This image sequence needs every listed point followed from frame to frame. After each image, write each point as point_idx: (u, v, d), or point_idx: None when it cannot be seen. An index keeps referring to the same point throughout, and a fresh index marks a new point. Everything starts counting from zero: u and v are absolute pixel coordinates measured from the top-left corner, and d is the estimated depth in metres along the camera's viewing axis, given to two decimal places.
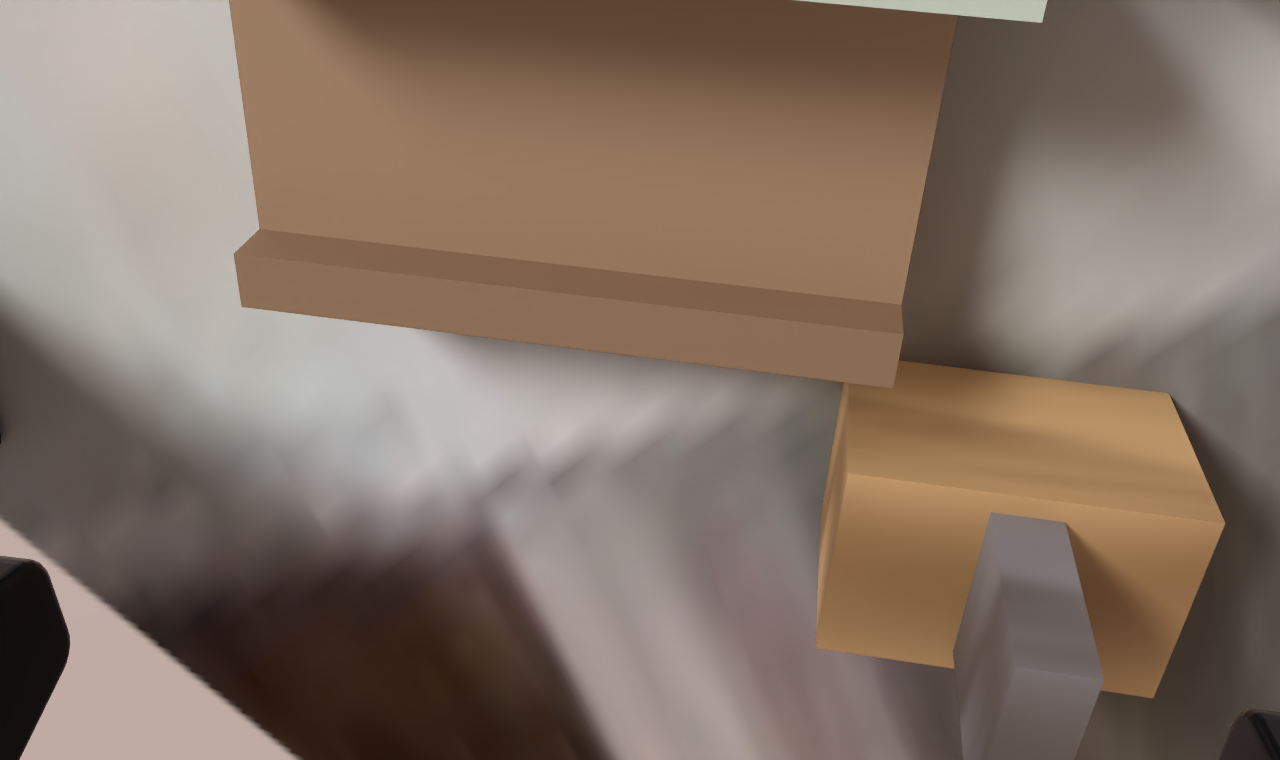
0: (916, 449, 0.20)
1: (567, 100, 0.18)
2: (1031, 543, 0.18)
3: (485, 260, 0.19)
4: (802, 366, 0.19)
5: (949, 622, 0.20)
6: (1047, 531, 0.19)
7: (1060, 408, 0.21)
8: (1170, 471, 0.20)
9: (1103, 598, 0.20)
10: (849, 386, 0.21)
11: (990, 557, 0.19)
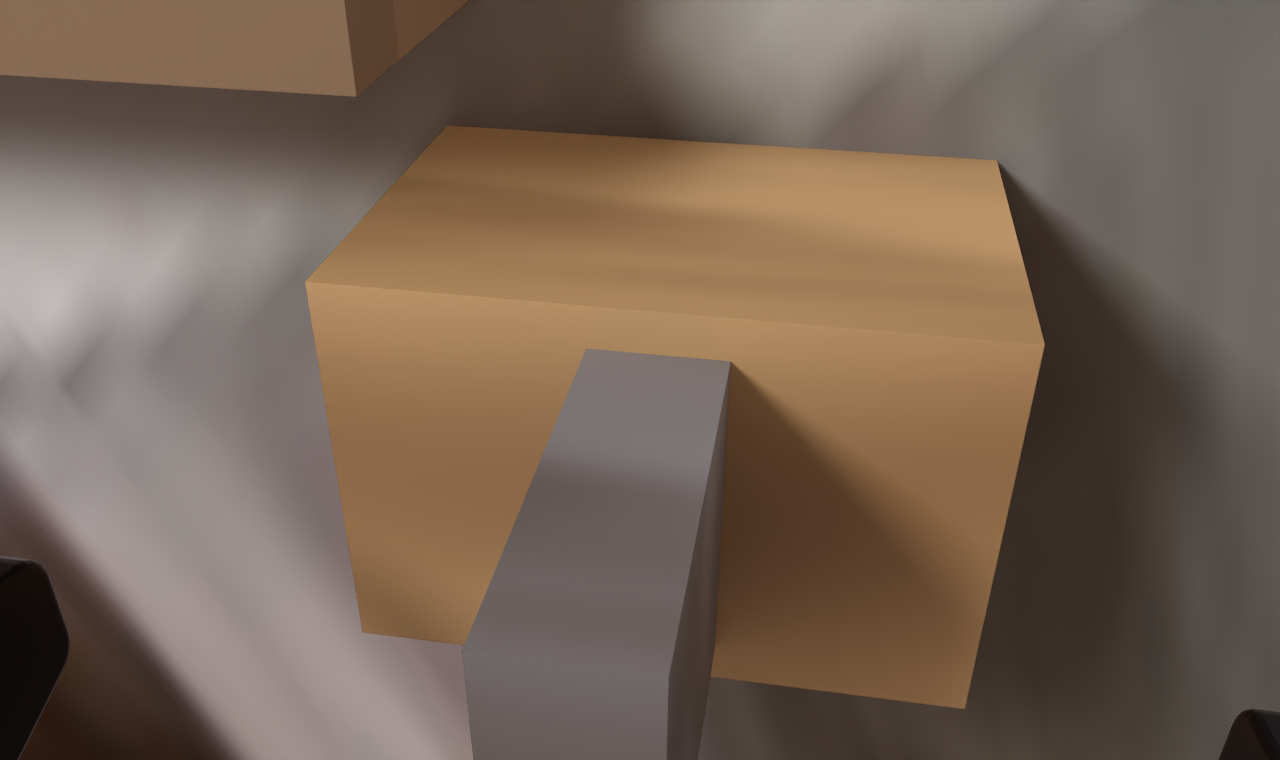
0: (473, 243, 0.10)
1: None
2: (641, 399, 0.09)
3: None
4: (175, 60, 0.09)
5: None
6: (685, 377, 0.09)
7: (787, 183, 0.12)
8: (958, 265, 0.10)
9: (836, 518, 0.10)
10: (414, 163, 0.12)
11: None
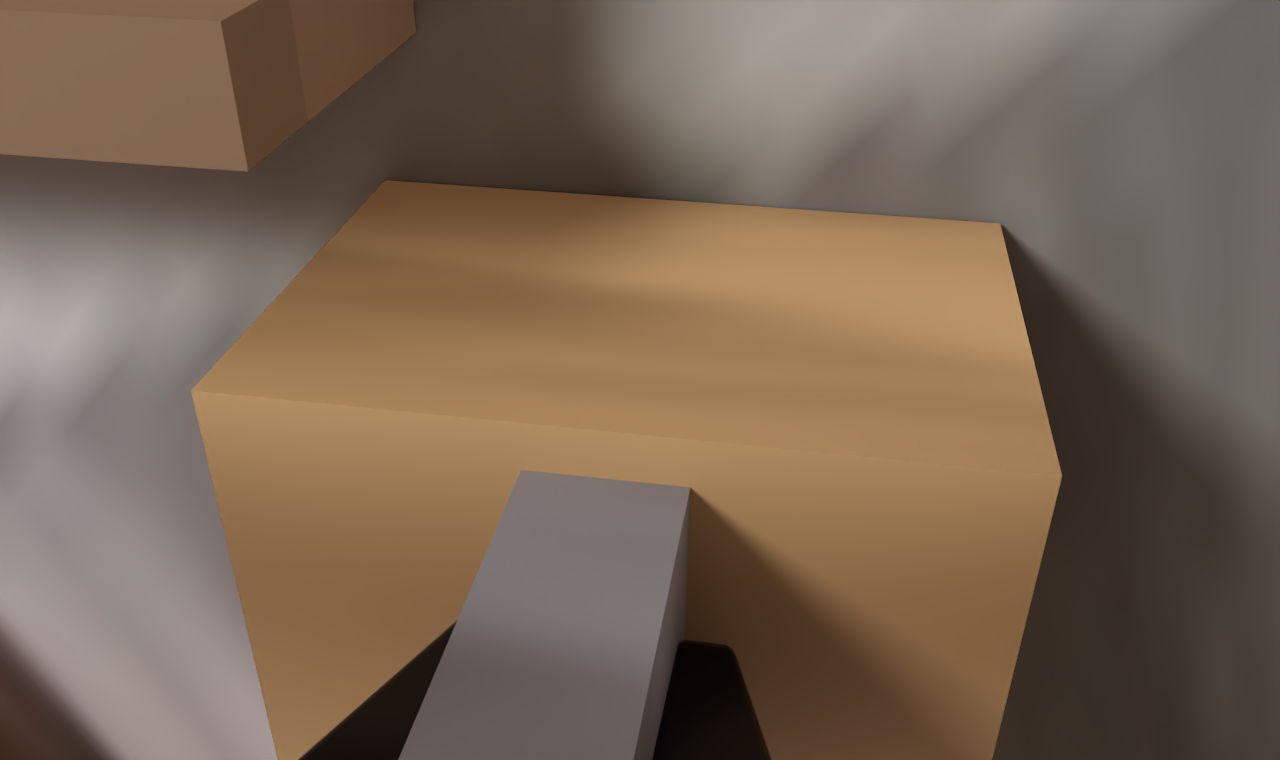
0: (394, 338, 0.09)
1: None
2: (581, 540, 0.07)
3: None
4: (37, 128, 0.08)
5: None
6: (635, 509, 0.08)
7: (762, 256, 0.10)
8: (959, 366, 0.09)
9: (817, 658, 0.09)
10: (339, 232, 0.11)
11: None
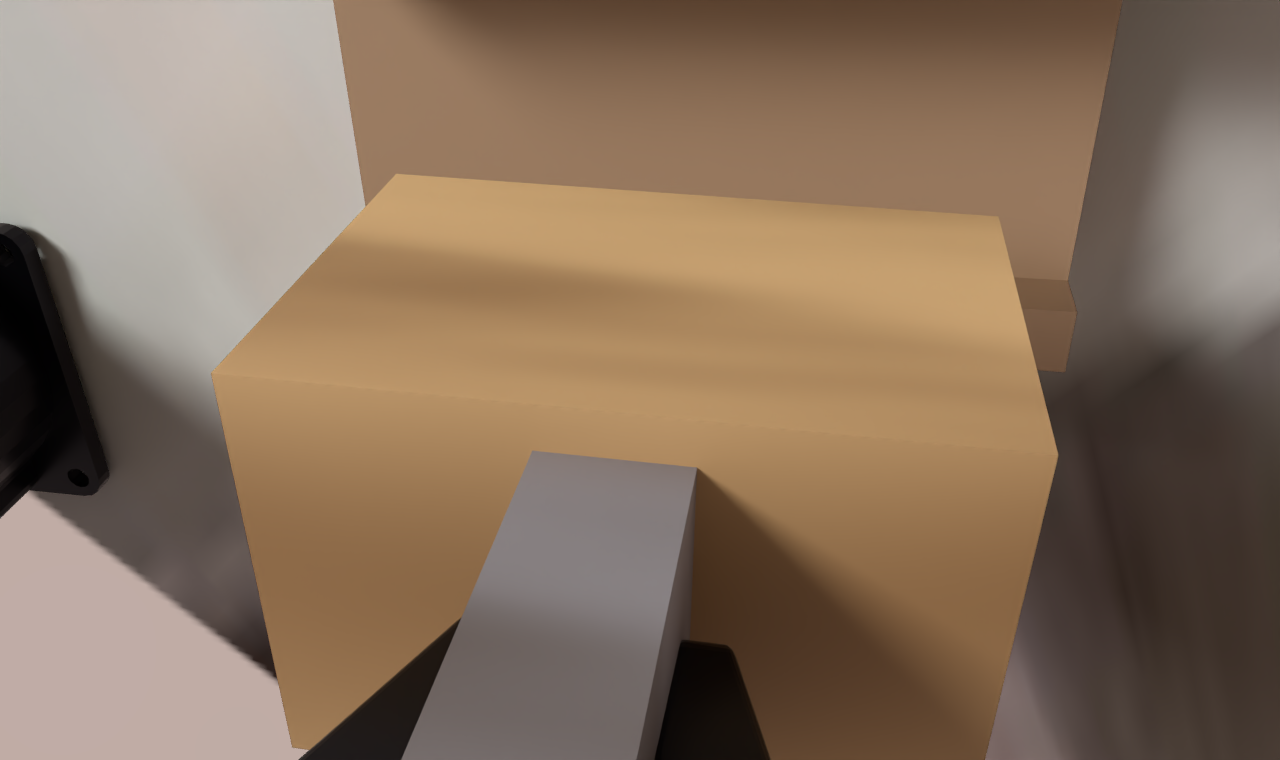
0: (408, 324, 0.09)
1: (695, 80, 0.17)
2: (591, 517, 0.08)
3: None
4: None
5: None
6: (644, 488, 0.08)
7: (765, 247, 0.10)
8: (957, 351, 0.09)
9: (819, 637, 0.09)
10: (352, 223, 0.11)
11: None
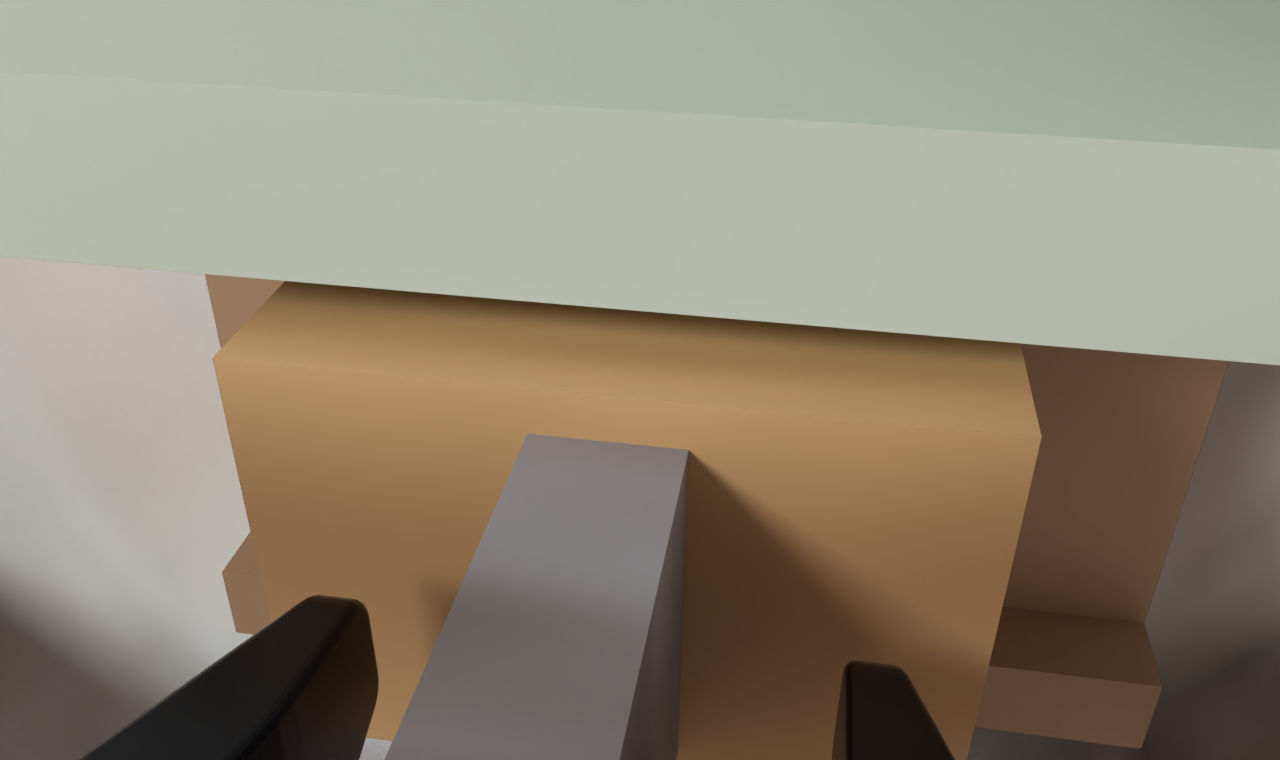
0: (407, 310, 0.09)
1: None
2: (584, 497, 0.08)
3: None
4: (1010, 719, 0.13)
5: None
6: (637, 470, 0.08)
7: None
8: None
9: (809, 617, 0.09)
10: None
11: None
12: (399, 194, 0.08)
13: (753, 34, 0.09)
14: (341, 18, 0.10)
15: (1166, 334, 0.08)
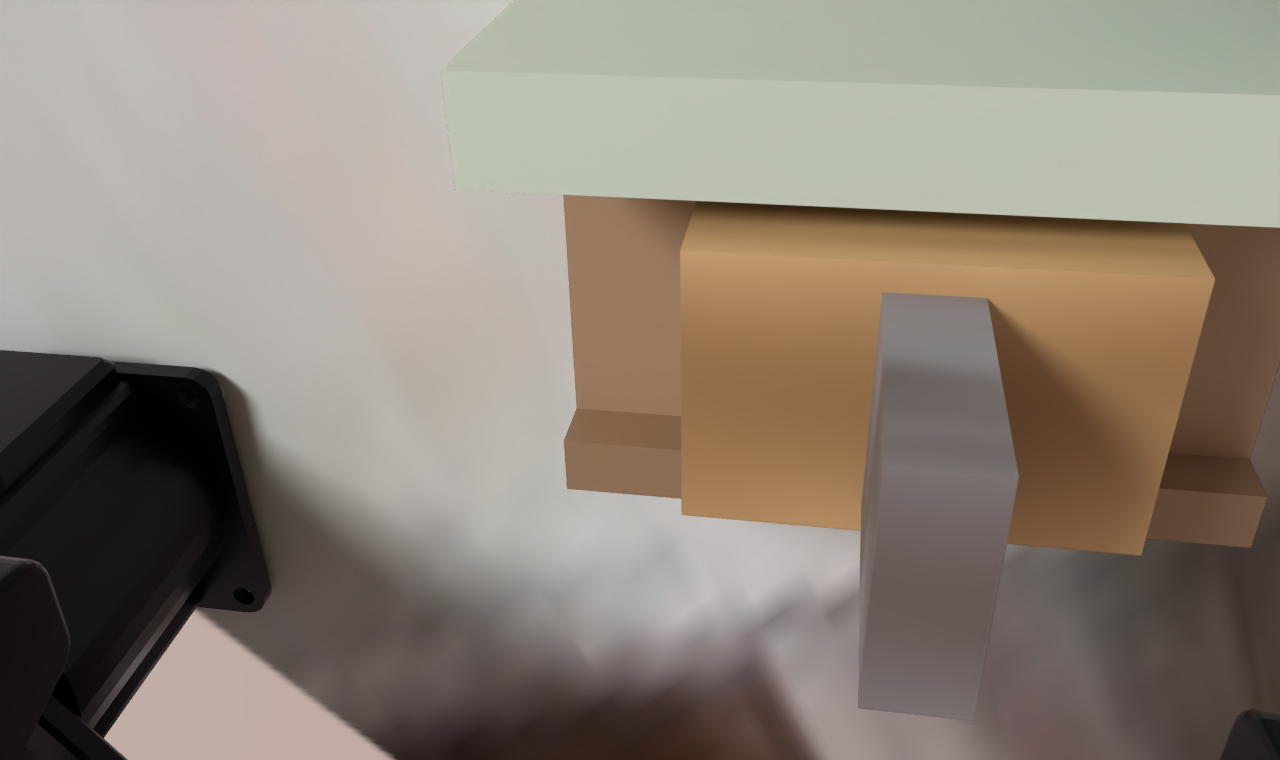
0: (784, 221, 0.14)
1: None
2: (934, 323, 0.13)
3: None
4: (1154, 529, 0.18)
5: (850, 464, 0.15)
6: (960, 309, 0.13)
7: None
8: (1139, 228, 0.14)
9: (1055, 410, 0.14)
10: None
11: (879, 349, 0.13)
12: (807, 143, 0.13)
13: (1007, 37, 0.14)
14: (733, 34, 0.15)
15: None
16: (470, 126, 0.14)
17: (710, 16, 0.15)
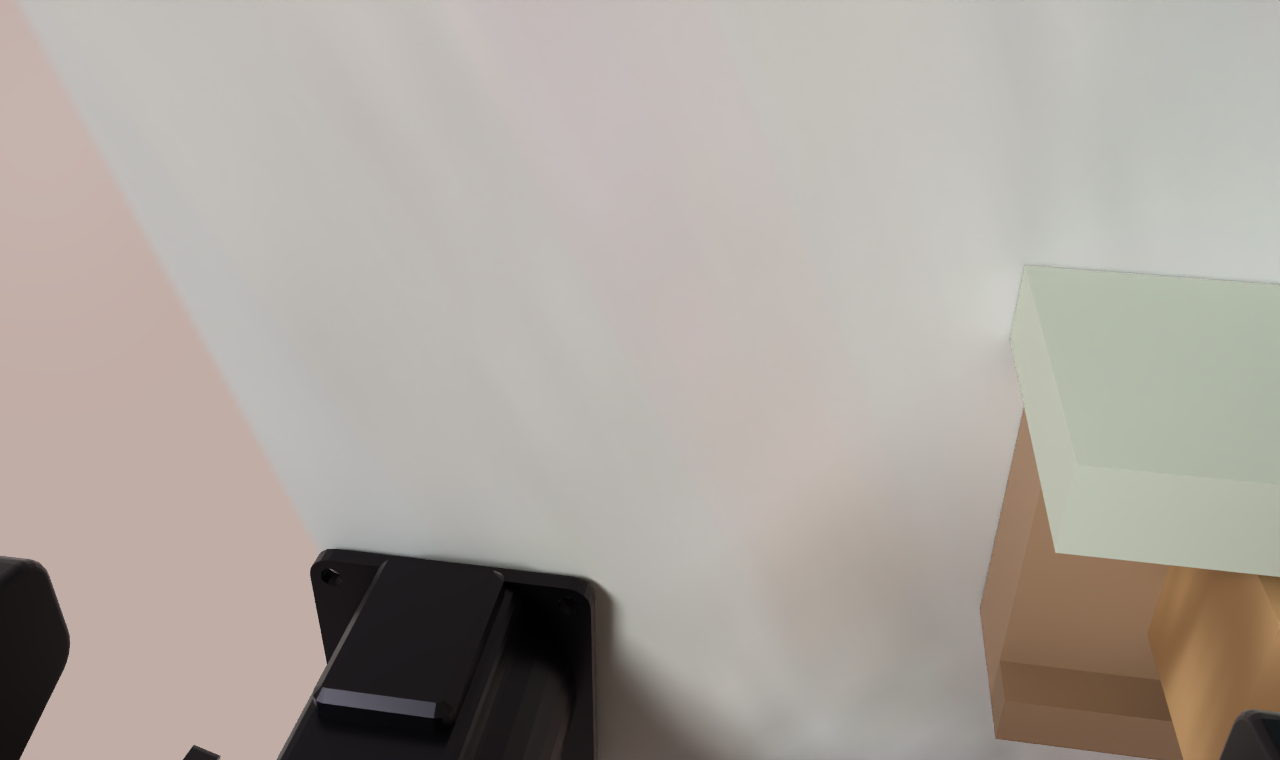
0: None
1: None
2: None
3: None
4: None
5: None
6: None
7: None
8: None
9: None
10: None
11: None
12: None
13: None
14: None
15: None
16: (1090, 507, 0.15)
17: (1252, 379, 0.17)
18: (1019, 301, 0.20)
